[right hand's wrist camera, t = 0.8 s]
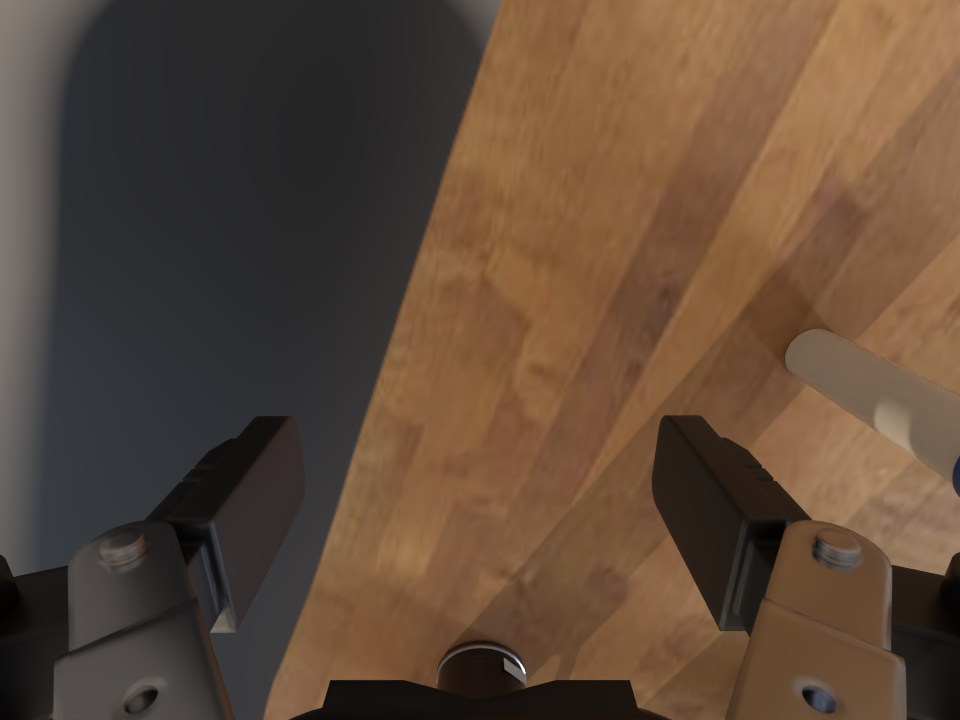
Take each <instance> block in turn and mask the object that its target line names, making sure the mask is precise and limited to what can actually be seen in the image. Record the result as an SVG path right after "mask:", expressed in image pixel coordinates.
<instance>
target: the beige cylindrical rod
mask: <svg viewBox="0 0 960 720" xmlns="http://www.w3.org/2000/svg"><path fill="white" fill-rule="evenodd" d="M785 364H786V367H787V369H788V370H789V372H790V373H791V374H793V375H794V376H796V377H797V378H798V379H800V380H801V381H803V382H804V383H806V384H807V385H809V386H810V387H812V388H813V389H815V390H816V391H818V392H819V393H820V394H822V395H823V396H825V397H826V398H828V399H829V400H831V401H832V402H834V403H835V404H837V405H838V406H840V407H841V408H842V409H844V410H845V411H847V412H848V413H850V414H851V415H853V416H854V417H856V418H857V419H859V420H860V421H862V422H863V423H864V424H866V425H867V426H869V427H870V428H872V429H873V430H875V431H876V432H878V433H879V434H881V435H882V436H884V437H885V438H886V439H888V440H889V441H891V442H892V443H894V444H895V445H897V446H898V447H900V448H901V449H903V450H904V451H906V452H907V453H908V454H910V455H911V456H913V457H914V458H916V459H917V460H919V461H920V462H922V463H923V464H925V465H926V466H928V467H929V468H930V469H932V470H933V471H935V472H936V473H938V474H939V475H941V476H942V477H944V478H945V479H947V480H948V481H950V482H951V483H952V474H953V469H954V466H955V463H956V461H957V459H958V458H959V456H960V394H958V393H956V392H954V391H952V390H950V389H948V388H946V387H944V386H942V385H939V384H937V383H935V382H933V381H931V380H929V379H927V378H925V377H923V376H921V375H919V374H917V373H915V372H913V371H911V370H909V369H907V368H904V367H902V366H900V365H898V364H896V363H894V362H892V361H890V360H888V359H886V358H884V357H882V356H880V355H878V354H876V353H874V352H871V351H869V350H867V349H865V348H863V347H861V346H859V345H857V344H855V343H853V342H851V341H849V340H847V339H845V338H843V337H841V336H839V335H836V334H834V333H832V332H830V331H828V330H825V329H811V330H808V331H805V332H803V333H801V334H800V335H798V336H797V337H796V338H795V339H794V340H793V341H792V342H791V343H790V345H789V346H788V348H787V351H786V354H785ZM952 484H953V483H952Z"/></svg>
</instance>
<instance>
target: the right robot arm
mask: <svg viewBox="0 0 960 720" xmlns="http://www.w3.org/2000/svg"><path fill="white" fill-rule="evenodd" d="M652 491H653V497H654V501H655V504H656V507H657V509H658V510H659V512H660V514H661V516H662V518H663V520H664V522H665V524H666V526H667V528H668V530H669V532H670V534H671V536H672V538H673V540H674V542H675V544H676V546H677V548H678V550H679V552H680V553H681V555H682V557H683V559H684V561H685V563H686V565H687V567H688V569H689V571H690V573H691V575H692V577H693V579H694V581H695V583H696V585H697V587H698V589H699V591H700V593H701V595H702V596H703V598H704V600H705V602H706V604H707V606H708V608H709V610H710V612H711V614H712V616H713V618H714V620H715V622H716V624H717V626H718V628H719V630H720V631H747V633H748V635H749V637H750V640H749V643H748V646H747V650H746V653H745V656H744V659H743V662H742V666H741V669H740V672H739V675H738V679H737V682H736V685H735V688H734V691H733V695H732V698H731V701H730V704H729V707H728V711H727V714H726V717H725V720H960V552H959V553H957V554H955V555H954V556H953V557H952V559H951V562H950V564H949V566H948V569H947V571H946V574H945V576H943V575H938V574H933V573H928V572H924V571H919V570H914V569H909V568H905V567H900V566H895V565H891V563H890V561H889V559H888V558H887V556H886V555H885V553H884V552H883V551H882V550H881V549H880V548H879V547H877V546H876V545H875V544H874V543H872V542H871V541H869V540H868V539H866V538H865V537H863V536H861V535H859V534H858V533H856V532H853V531H851V530H849V529H847V528H844V527H841V526H839V525H835V524H832V523H827V522H823V521H815V520H812V519H811V518H810V517H809V516H808V515H807V514H806V513H805V511H804V510H803V509H802V508H801V507H800V506H799V505H798V504H797V503H796V502H795V501H794V500H793V499H792V497H791V496H790V495H789V494H788V493H787V492H786V491H785V490H784V489H783V488H782V487H781V486H780V485H779V483H778V482H777V481H773V477H772V476H771V475H770V474H769V473H768V472H767V471H766V469H765V468H762V465H761V464H760V463H759V462H758V461H757V460H756V459H755V458H754V457H753V455H752V454H751V453H750V452H749V451H748V450H746V449H745V448H743V447H741V446H740V445H738V444H736V443H734V442H733V441H731V440H729V439H728V438H720V437H719V436H718V435H717V433H716V432H715V431H714V430H713V429H712V428H711V427H710V425H709V424H708V423H707V422H706V421H705V420H704V418H702V417H701V416H698V415H665V416H664V417H663V418H662V419H661V422H660V426H659V432H658V439H657V446H656V453H655V460H654V467H653V474H652ZM304 495H305V472H304V466H303V459H302V452H301V445H300V438H299V431H298V425H297V422H296V420H295V418H294V417H292V416H257V417H255V418H254V419H253V420H252V422H251V423H250V424H249V425H248V426H247V427H246V428H245V429H244V431H243V432H242V433H241V434H240V435H239V436H238V437H237V439H229V440H227V441H226V442H224V443H222V444H221V445H219V446H217V447H215V448H214V449H212V450H210V451H209V452H208V453H207V454H206V455H205V456H204V457H203V458H202V459H201V460H200V461H199V462H198V463H197V465H196V466H195V469H192V470H191V471H190V472H189V473H188V474H187V475H186V476H185V477H184V478H183V482H180V483H179V484H178V485H177V486H176V487H175V488H174V489H173V490H172V491H171V492H170V493H169V494H168V496H167V497H166V498H165V499H164V500H163V501H162V502H161V503H160V504H159V505H158V506H157V507H156V508H155V509H154V511H153V512H152V513H151V514H150V515H149V516H148V517H147V518H146V519H145V520H144V521H137V522H133V523H128V524H125V525H121V526H119V527H116V528H113V529H111V530H109V531H107V532H104V533H102V534H101V535H99V536H97V537H95V538H94V539H92V540H91V541H89V542H88V543H86V544H85V545H84V546H83V547H81V548H80V549H79V550H78V552H76V554H75V555H74V556H73V558H72V559H71V561H70V563H69V565H68V566H64V567H59V568H54V569H50V570H45V571H40V572H35V573H31V574H26V575H21V576H16V577H13V575H12V573H11V571H10V568H9V566H8V564H7V561H6V559H5V558H4V557H3V556H2V555H0V720H235V717H234V714H233V711H232V708H231V704H230V701H229V698H228V695H227V691H226V688H225V685H224V682H223V679H222V675H221V672H220V669H219V666H218V663H217V659H216V656H215V653H214V650H213V646H212V643H211V640H210V637H209V633H236V632H237V630H238V628H239V626H240V624H241V622H242V620H243V618H244V616H245V614H246V612H247V611H248V609H249V607H250V605H251V603H252V601H253V599H254V597H255V595H256V593H257V591H258V589H259V587H260V585H261V583H262V582H263V579H264V578H265V576H266V574H267V572H268V570H269V568H270V566H271V564H272V562H273V560H274V558H275V556H276V555H277V553H278V551H279V549H280V547H281V545H282V543H283V541H284V539H285V537H286V535H287V533H288V531H289V529H290V527H291V526H292V524H293V522H294V520H295V518H296V516H297V514H298V512H299V510H300V508H301V506H302V503H303V500H304ZM525 684H526V685H527V679H526V674H525V667H524V665H523V662H522V661H521V659H520V658H519V657H518V656H517V655H516V654H515V653H514V652H513V651H511V650H510V649H508V648H506V647H504V646H501V645H498V644H495V643H488V642H474V643H468V644H464V645H461V646H459V647H456V648H455V649H453V650H451V651H450V652H448V653H447V654H446V655H445V656H444V657H443V659H442V660H441V662H440V664H439V666H438V670H437V689H435V688H432V687H428V686H424V685H420V684H416V683H412V682H409V681H405V680H330V683H329V687H328V690H327V694H326V697H325V701H324V704H323V707H322V708H319V709H315V710H312V711H309V712H306V713H304V714H301V715H299V716H296V717H293V718H291V719H289V720H671V719H669V718H667V717H664V716H661V715H659V714H656V713H654V712H651V711H648V710H645V709H641V708H638V707H637V704H636V701H635V697H634V694H633V690H632V687H631V683H630V680H555V681H551V682H548V683H544V684H540V685H536V686H532V687H528V688H526V685H525Z"/></svg>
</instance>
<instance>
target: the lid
mask: <svg viewBox="0 0 960 720" xmlns="http://www.w3.org/2000/svg"><path fill="white" fill-rule="evenodd" d="M952 483H953V487H954V489H955V491H956V493H957V494H958V496H959V497H960V456H959V458H958V459H957V461H956V463H955V466H954V469H953V474H952Z"/></svg>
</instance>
